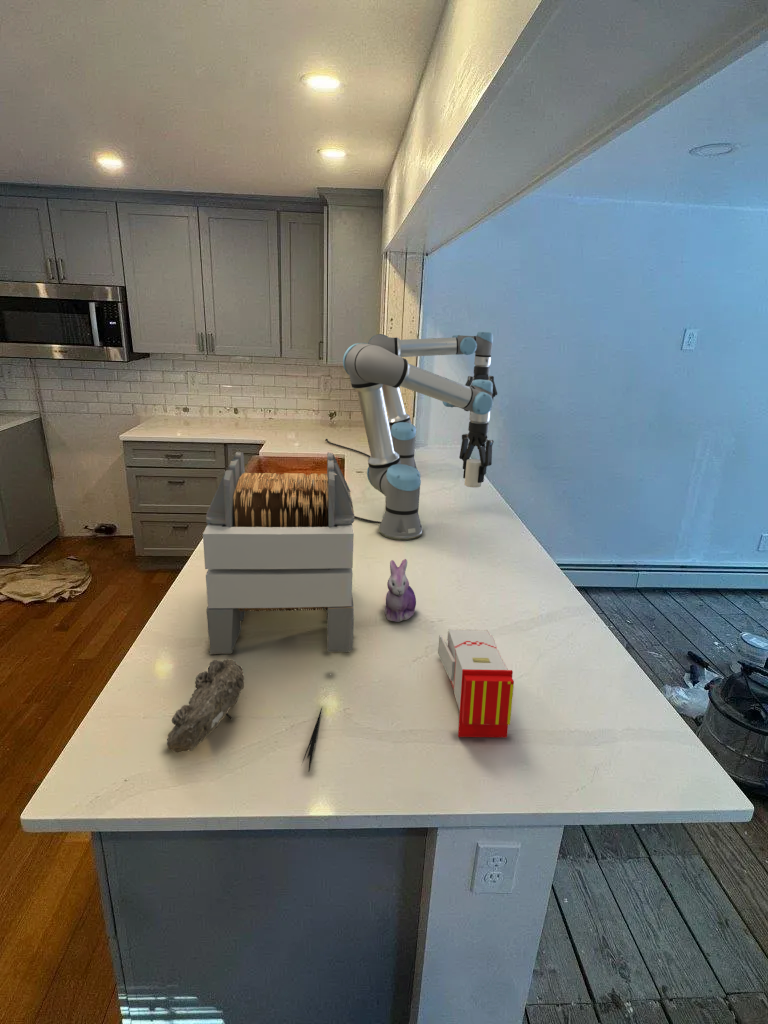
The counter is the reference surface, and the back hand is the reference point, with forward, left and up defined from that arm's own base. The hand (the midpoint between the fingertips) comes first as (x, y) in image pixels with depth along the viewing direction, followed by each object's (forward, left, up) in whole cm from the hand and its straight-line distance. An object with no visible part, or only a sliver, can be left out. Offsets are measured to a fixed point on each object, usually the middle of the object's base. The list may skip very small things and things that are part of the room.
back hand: (477, 410), depth 278 cm
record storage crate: (+104, -132, -29) cm, 170 cm away
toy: (+148, -106, -29) cm, 184 cm away
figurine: (+114, -104, -29) cm, 157 cm away
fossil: (+134, -156, -29) cm, 207 cm away
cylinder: (+53, -39, -19) cm, 68 cm away
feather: (+143, -138, -29) cm, 200 cm away
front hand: (+53, -39, -17) cm, 68 cm away
